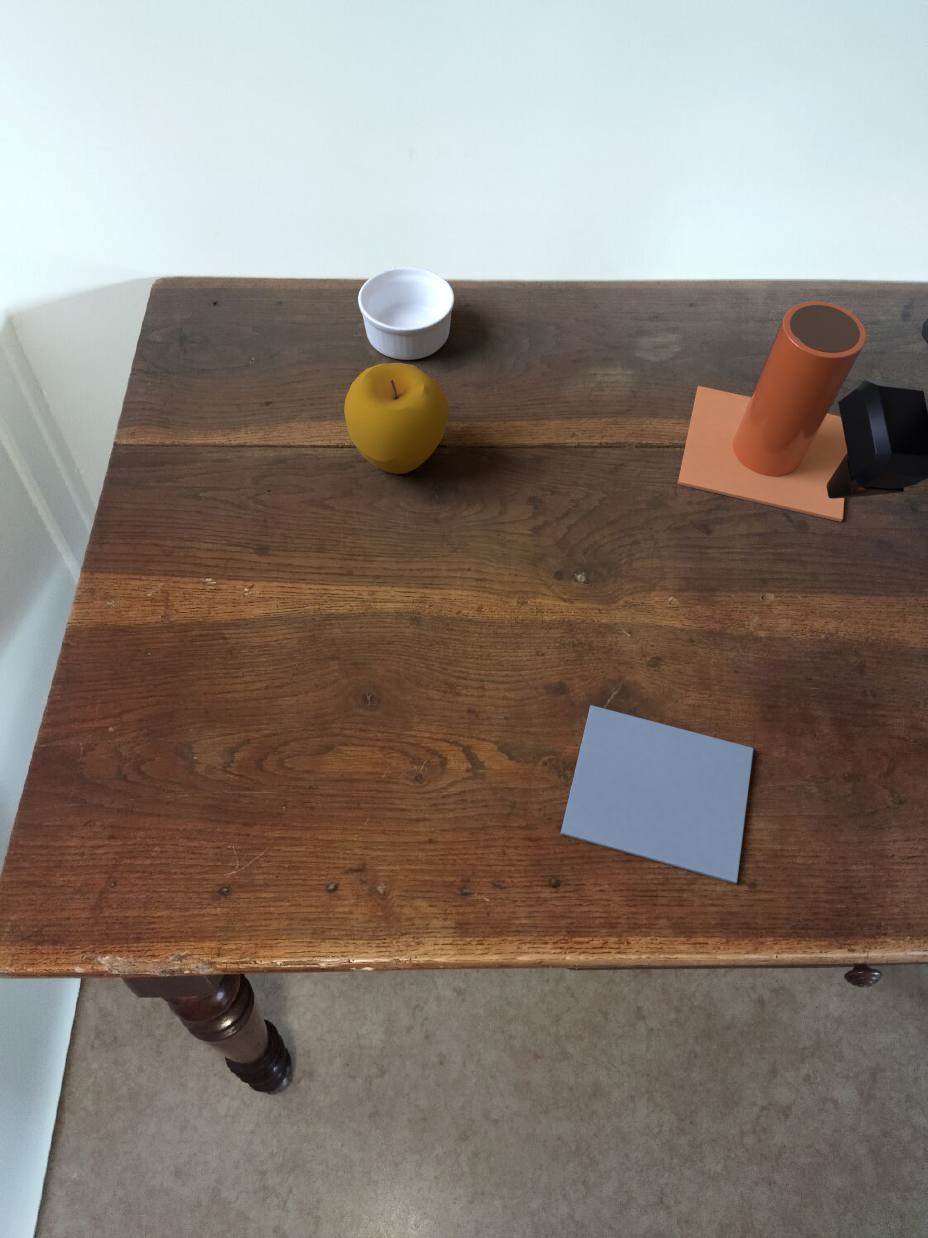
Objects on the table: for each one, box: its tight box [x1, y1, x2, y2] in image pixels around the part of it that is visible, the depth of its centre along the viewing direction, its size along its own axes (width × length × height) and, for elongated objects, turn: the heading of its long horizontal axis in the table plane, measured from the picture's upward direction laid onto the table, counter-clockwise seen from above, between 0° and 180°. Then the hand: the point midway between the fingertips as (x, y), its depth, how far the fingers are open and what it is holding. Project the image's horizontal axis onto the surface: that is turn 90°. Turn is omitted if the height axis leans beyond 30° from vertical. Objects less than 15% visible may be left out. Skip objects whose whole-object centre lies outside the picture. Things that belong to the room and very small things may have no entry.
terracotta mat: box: [677, 385, 847, 523], centre depth 78 cm, size 14×12×1 cm
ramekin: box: [357, 266, 455, 361], centre depth 84 cm, size 9×9×4 cm
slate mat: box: [560, 704, 754, 885], centre depth 62 cm, size 12×10×1 cm
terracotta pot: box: [733, 300, 867, 476], centre depth 72 cm, size 6×6×14 cm
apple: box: [343, 362, 450, 475], centre depth 74 cm, size 8×8×9 cm
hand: (882, 495), depth 63 cm, fingers open, 9 cm apart
